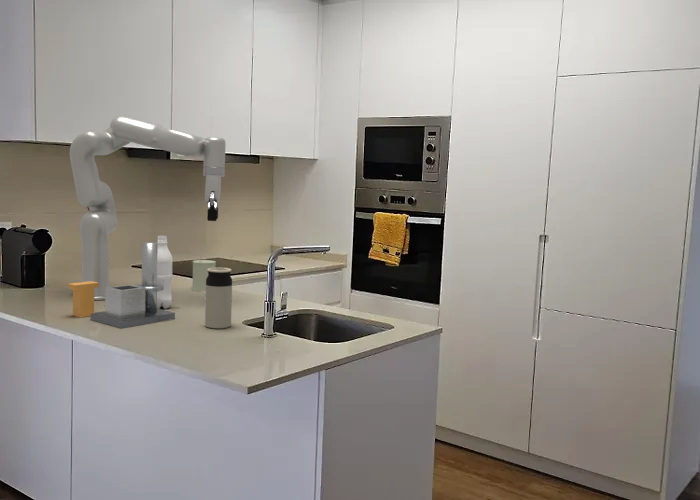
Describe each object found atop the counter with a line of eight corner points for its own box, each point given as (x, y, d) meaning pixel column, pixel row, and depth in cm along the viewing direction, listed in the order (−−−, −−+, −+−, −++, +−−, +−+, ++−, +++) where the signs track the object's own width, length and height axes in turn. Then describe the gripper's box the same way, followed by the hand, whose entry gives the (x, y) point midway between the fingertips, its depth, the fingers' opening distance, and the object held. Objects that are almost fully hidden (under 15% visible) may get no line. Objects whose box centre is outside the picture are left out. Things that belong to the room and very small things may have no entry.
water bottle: (176, 307, 241) (177, 235, 238) (164, 310, 234) (165, 237, 231) (158, 304, 243) (159, 234, 240) (146, 308, 236) (147, 235, 234)
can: (187, 290, 275) (187, 260, 273) (200, 287, 283) (201, 258, 282) (206, 292, 271) (207, 262, 270) (219, 289, 280) (220, 260, 278)
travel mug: (218, 330, 209) (220, 271, 207) (199, 326, 213) (200, 268, 211) (236, 326, 216) (237, 269, 214) (217, 322, 220) (218, 266, 218)
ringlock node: (90, 319, 215) (90, 243, 213) (145, 311, 232) (145, 240, 229) (121, 328, 206) (122, 248, 203) (176, 318, 222) (177, 244, 220)
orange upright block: (67, 316, 219) (67, 283, 218) (91, 312, 226) (91, 281, 225) (75, 318, 217) (75, 285, 216) (98, 314, 223) (98, 282, 222)
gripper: (204, 171, 255) (203, 217, 256) (201, 171, 238) (200, 221, 239) (225, 172, 256) (224, 218, 258) (223, 172, 239) (222, 222, 241)
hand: (212, 219), depth 248 cm, fingers open, 9 cm apart
